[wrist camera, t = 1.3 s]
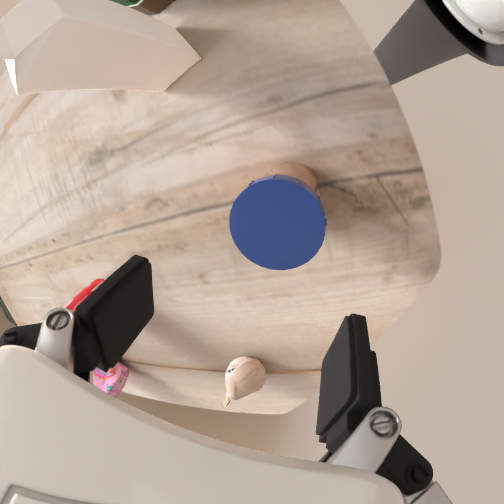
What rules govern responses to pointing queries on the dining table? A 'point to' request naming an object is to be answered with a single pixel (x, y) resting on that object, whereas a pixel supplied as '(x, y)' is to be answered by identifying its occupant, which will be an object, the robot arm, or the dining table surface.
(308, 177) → the jar
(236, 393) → the garlic bulb
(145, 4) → the beer bottle
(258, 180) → the jar lid
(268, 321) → the dining table surface
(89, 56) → the milk
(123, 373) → the pencil case
